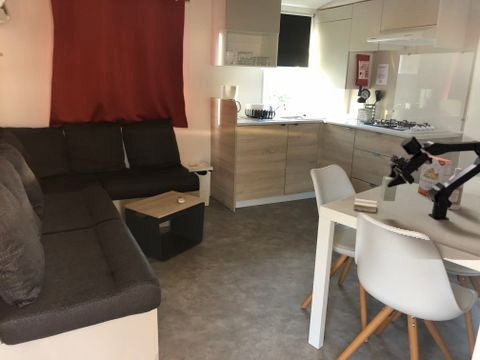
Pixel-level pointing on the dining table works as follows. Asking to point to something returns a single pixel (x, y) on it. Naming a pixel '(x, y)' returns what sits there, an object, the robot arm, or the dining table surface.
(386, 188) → the tea tin
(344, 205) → the dining table surface
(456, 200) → the bath foam
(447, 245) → the dining table surface
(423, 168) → the cracker box
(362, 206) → the birch block
